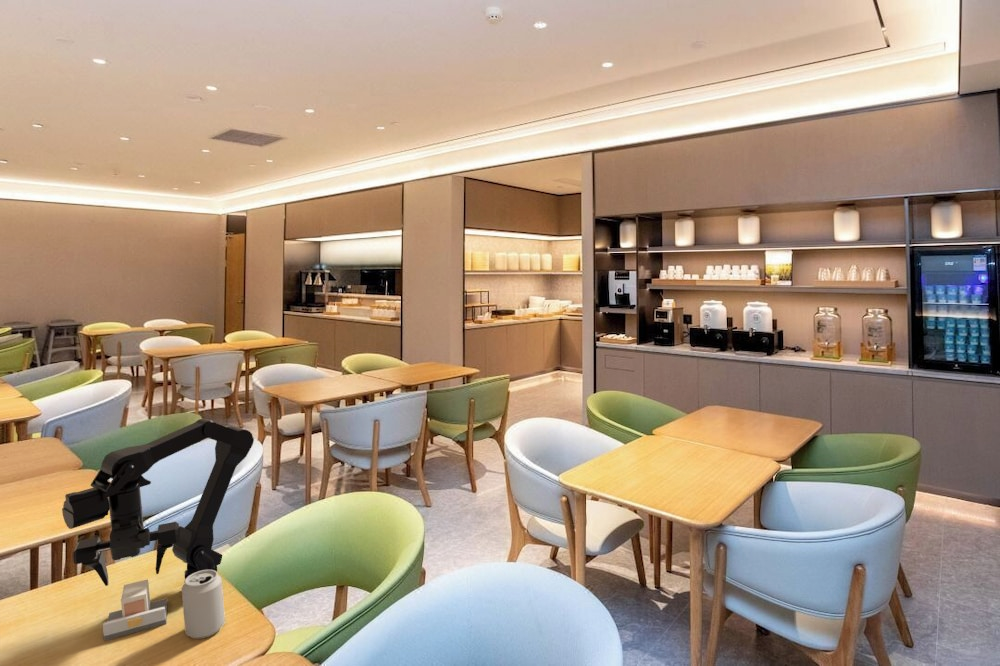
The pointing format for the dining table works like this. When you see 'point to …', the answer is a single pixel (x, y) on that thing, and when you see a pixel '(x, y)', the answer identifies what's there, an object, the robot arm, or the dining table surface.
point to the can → (203, 604)
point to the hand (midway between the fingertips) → (132, 579)
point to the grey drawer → (135, 620)
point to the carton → (135, 598)
